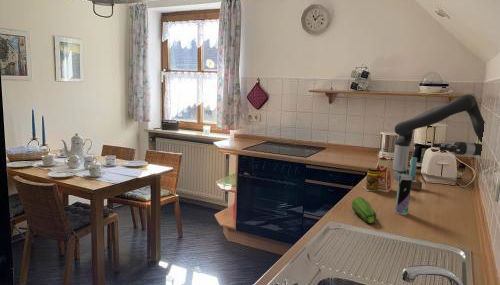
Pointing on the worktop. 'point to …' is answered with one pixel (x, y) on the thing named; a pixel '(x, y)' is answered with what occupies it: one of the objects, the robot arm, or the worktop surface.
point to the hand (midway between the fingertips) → (436, 146)
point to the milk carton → (384, 174)
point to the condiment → (372, 180)
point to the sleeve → (397, 174)
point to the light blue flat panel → (413, 168)
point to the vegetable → (363, 209)
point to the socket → (416, 185)
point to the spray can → (403, 193)
